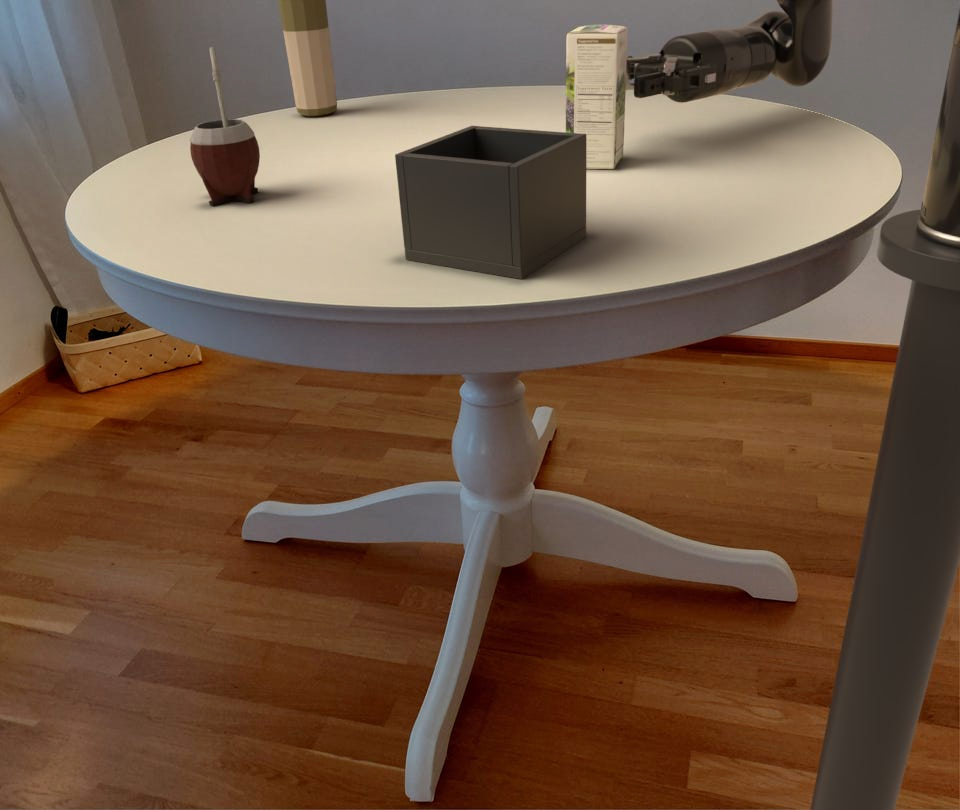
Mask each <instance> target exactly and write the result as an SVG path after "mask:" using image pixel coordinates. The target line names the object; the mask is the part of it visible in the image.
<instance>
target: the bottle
mask: <svg viewBox="0 0 960 810" xmlns="http://www.w3.org/2000/svg"><path fill="white" fill-rule="evenodd" d="M277 1H278V9H279V14H280V19H281V26H282V31H283V37H284V44H285V49H286V56H287V61H288V67H289V73H290V80H291V85H292V91H293V98H294V103H295V109H296V112H297V113H298V114H299V115H302V116H305V117H311V118H313V117H315V118H316V117H317V118H318V117H323V116H329V115H331V114H333V113H334V112H336V111H337V110H338V98H337V90H336V81H335V72H334V63H333V54H332V44H331V36H330V35H331V34H330V27H329V18H328V10H327V9H328V8H327V0H277Z"/></svg>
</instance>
